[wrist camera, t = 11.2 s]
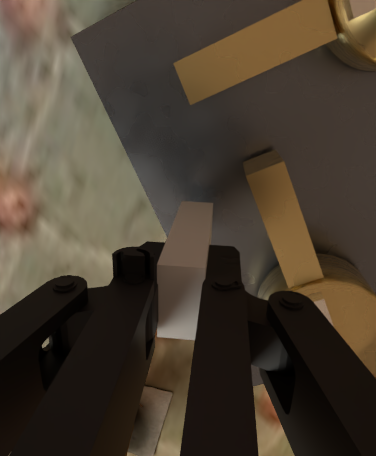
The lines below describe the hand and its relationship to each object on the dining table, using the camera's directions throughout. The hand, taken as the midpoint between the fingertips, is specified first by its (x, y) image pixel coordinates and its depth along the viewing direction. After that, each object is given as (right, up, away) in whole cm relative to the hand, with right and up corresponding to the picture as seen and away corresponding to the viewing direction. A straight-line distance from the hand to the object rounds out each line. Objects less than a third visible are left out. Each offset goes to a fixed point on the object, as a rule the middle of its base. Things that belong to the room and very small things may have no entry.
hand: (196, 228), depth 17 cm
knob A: (+5, -2, +2) cm, 6 cm away
